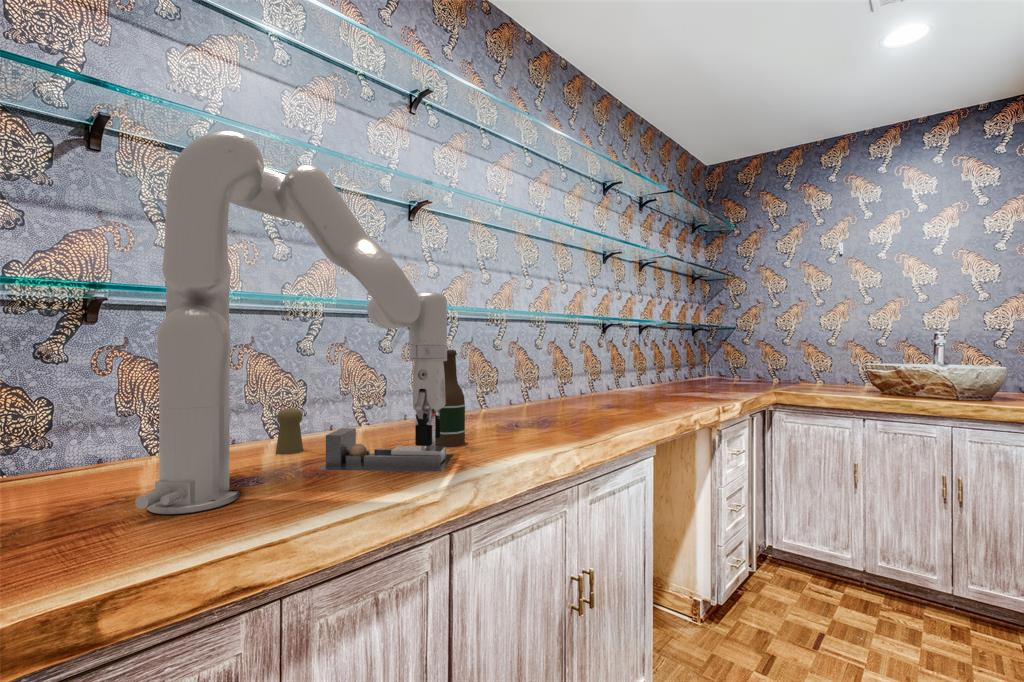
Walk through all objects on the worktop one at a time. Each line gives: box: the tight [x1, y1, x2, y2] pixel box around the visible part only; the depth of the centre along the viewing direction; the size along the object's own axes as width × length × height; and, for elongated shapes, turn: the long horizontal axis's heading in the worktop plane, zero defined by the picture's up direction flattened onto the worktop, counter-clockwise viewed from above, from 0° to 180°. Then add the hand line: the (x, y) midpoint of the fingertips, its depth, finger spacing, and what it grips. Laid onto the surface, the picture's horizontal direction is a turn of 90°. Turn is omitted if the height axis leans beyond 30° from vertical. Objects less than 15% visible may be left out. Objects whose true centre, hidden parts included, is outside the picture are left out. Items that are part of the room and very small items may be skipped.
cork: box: [274, 407, 304, 456], centre depth 109 cm, size 6×6×11 cm
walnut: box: [349, 443, 368, 460], centre depth 100 cm, size 4×4×4 cm
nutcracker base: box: [316, 427, 454, 473], centre depth 99 cm, size 14×24×8 cm, turn 87°
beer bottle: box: [435, 349, 466, 448], centre depth 117 cm, size 8×8×24 cm
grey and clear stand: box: [391, 411, 446, 463], centre depth 99 cm, size 4×10×10 cm, turn 87°
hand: (428, 440), depth 99 cm, fingers open, 7 cm apart
